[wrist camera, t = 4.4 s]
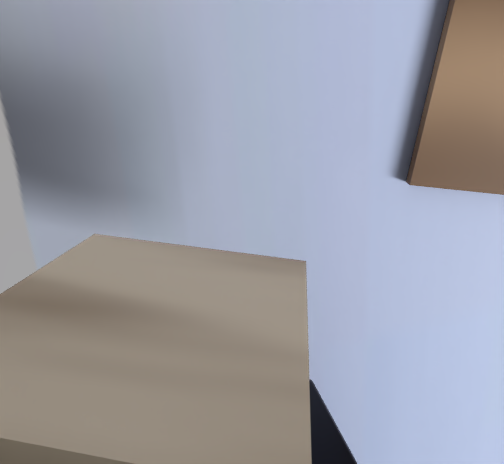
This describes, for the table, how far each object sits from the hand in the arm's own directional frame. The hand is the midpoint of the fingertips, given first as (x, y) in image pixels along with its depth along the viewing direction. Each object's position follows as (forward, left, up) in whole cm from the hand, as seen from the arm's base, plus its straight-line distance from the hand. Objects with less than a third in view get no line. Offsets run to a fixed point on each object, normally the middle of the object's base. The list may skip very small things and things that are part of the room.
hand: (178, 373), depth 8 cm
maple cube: (0, 0, -1) cm, 1 cm away
